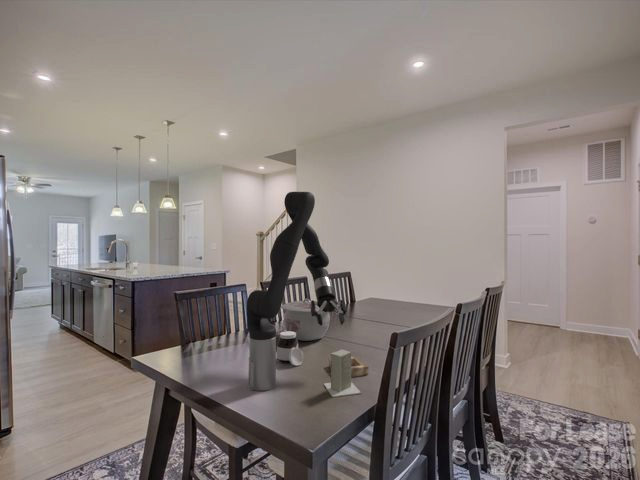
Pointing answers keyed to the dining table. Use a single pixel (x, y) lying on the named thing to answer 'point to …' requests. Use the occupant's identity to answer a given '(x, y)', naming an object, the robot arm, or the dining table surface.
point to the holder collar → (356, 367)
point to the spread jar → (289, 349)
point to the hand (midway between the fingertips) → (331, 323)
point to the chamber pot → (304, 320)
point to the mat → (348, 391)
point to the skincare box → (340, 370)
